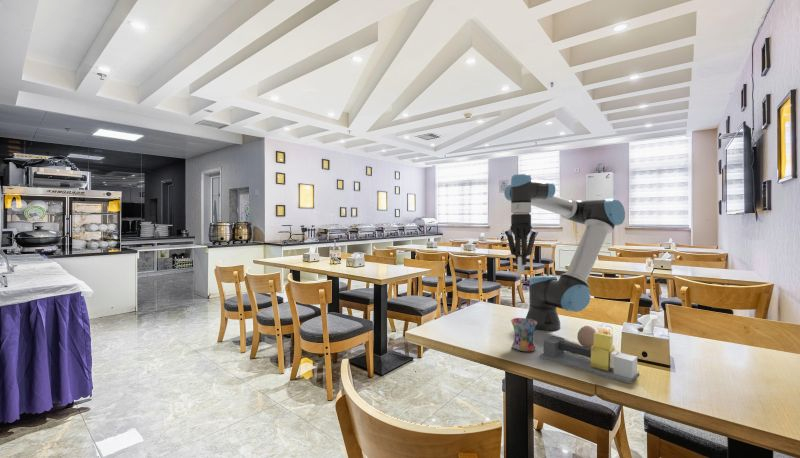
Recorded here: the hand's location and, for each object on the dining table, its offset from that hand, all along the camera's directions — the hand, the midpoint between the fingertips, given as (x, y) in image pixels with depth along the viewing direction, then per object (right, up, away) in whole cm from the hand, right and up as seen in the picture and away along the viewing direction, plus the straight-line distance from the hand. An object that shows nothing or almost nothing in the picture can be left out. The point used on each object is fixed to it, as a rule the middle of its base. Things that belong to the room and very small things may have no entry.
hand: (521, 272), depth 142 cm
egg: (+24, -28, -5) cm, 37 cm away
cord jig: (+15, -28, -22) cm, 39 cm away
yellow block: (+18, -27, -26) cm, 41 cm away
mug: (0, -28, -6) cm, 29 cm away
